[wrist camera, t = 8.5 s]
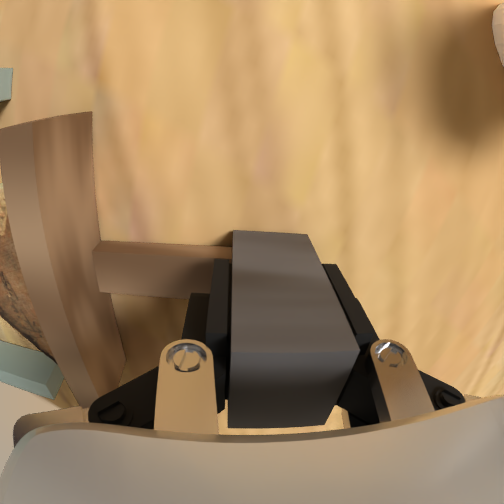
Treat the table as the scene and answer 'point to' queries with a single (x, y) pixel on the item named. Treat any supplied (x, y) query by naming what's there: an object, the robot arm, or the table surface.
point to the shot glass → (499, 30)
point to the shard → (16, 288)
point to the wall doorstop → (167, 286)
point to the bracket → (16, 357)
